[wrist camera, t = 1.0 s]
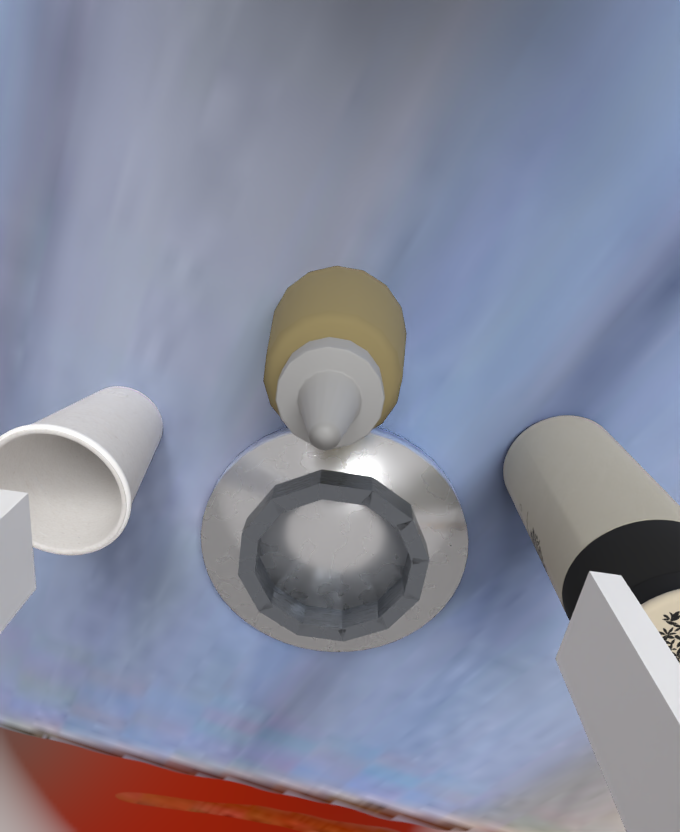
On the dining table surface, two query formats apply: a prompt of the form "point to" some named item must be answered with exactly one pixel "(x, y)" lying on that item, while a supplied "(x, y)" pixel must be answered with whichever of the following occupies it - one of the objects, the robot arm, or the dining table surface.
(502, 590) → the dining table surface
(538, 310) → the dining table surface
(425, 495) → the rosette plate
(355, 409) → the squeeze bottle
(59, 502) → the dixie cup
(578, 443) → the travel mug
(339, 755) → the dining table surface
